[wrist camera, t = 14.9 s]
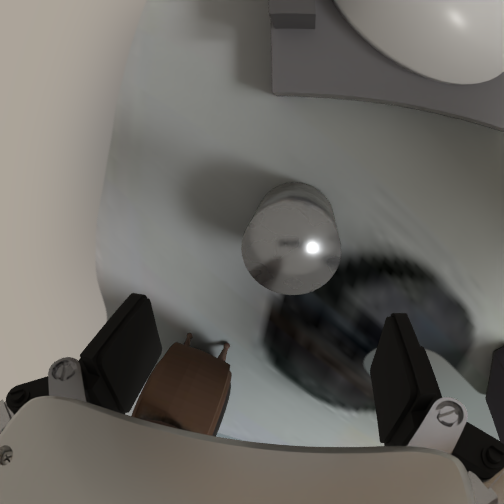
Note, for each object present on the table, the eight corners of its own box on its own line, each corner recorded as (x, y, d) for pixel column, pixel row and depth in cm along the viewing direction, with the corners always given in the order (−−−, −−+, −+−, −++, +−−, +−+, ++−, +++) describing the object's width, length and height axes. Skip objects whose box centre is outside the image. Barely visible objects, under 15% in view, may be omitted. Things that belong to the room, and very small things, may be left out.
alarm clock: (219, 404, 35) (171, 539, 17) (167, 383, 35) (103, 511, 17) (256, 330, 28) (197, 534, 11) (187, 303, 29) (80, 483, 11)
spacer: (336, 184, 21) (345, 206, 16) (330, 257, 24) (335, 297, 19) (257, 180, 22) (240, 201, 17) (257, 252, 25) (243, 291, 20)
